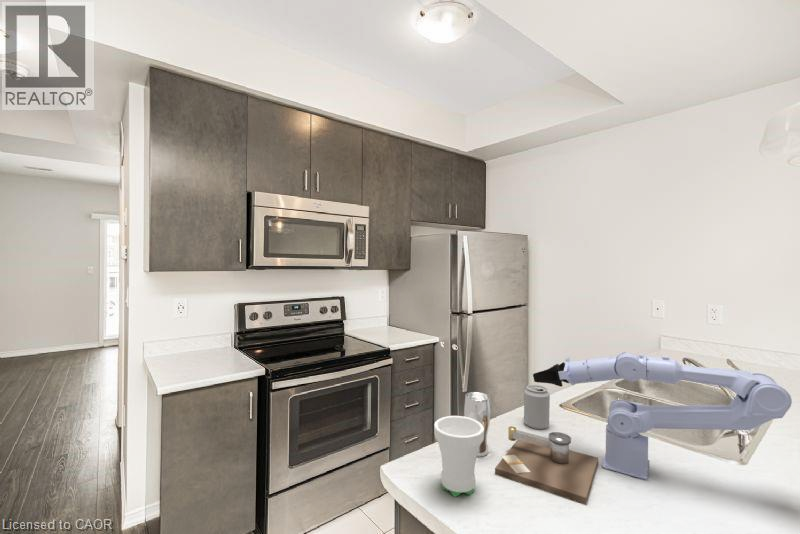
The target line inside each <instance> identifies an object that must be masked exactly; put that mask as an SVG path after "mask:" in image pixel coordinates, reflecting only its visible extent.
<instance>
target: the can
mask: <svg viewBox="0 0 800 534" xmlns="http://www.w3.org/2000/svg"><path fill="white" fill-rule="evenodd" d="M523 394H524V395H523V396H524V397H523V398H524V399H523V421H524V423H525V425H526V426H527V427H529V428H531V429H535V430H545V429H546V428H547V427H549V426H550V407H551V406H550V403H551V402H550V399H551V397H550V393H549V391H548V388H547V387H546V386H544V385H538V384H529V385H527V386H526V389H525V390H524V392H523Z"/></svg>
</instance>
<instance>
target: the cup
mask: <svg viewBox="0 0 800 534" xmlns="http://www.w3.org/2000/svg"><path fill="white" fill-rule="evenodd" d="M433 426H434V427H433V430H434V431H433V432H434V437H435V440H436V442H437V444H438V447H439V451H440V455H441V464H442V470H441V480H440V482H441V487H442V490H445V491H449V492H450V493H451V494H452V495H453V496H454V497H459V496H460V495H461V494H466V495H470V496H471V495H472V494H473V491H474V490H475V489H474V488H475V486H476V475H475V470H476V469H475V467H476V459H477V457H478V456H477V453H478V450H479V447H480V445H481V443H482V441H483V440H484V427H483V425H482V424H481V423H480V422H478V421H477V420H475V419H472V418H469V417H465V415H463V416H462V415H448V416H444V417H443V416H442V417H440V418H438V419H437V420H436V421H435V422H434V425H433Z"/></svg>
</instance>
